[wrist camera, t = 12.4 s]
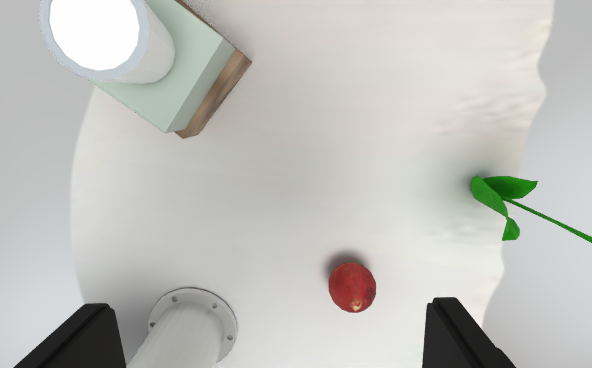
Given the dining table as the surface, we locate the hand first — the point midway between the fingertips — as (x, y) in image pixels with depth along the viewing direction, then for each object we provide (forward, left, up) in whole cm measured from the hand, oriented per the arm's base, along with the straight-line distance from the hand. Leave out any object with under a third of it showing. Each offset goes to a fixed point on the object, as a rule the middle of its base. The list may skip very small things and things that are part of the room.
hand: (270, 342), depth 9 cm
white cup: (+1, +17, -20) cm, 27 cm away
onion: (-7, -15, -31) cm, 35 cm away
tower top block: (+1, +17, -26) cm, 31 cm away
